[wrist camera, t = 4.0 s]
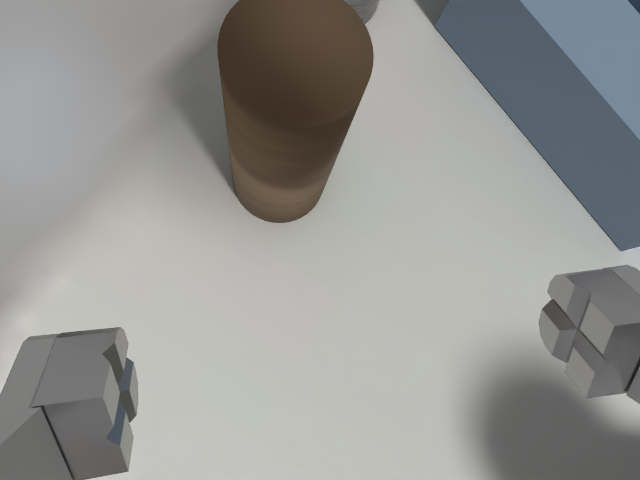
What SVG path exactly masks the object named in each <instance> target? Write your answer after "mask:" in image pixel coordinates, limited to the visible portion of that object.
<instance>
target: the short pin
mask: <svg viewBox="0 0 640 480" xmlns="http://www.w3.org/2000/svg"><path fill="white" fill-rule="evenodd" d="M344 1H345V2H346V3H347V4H349V5H350V6H351V7H352V8H353V9H354V10H355V12H356V13H357V14H358V15H359V17H360V18H361V19H362V21H363V22H364V24H366V23H367V22H368V21H369V20H370V19H371V18H372V16H373V15H374V13H375V11H376V8H377V5H378V3H379V0H344Z"/></svg>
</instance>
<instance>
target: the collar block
mask: <svg viewBox="0 0 640 480" xmlns="http://www.w3.org/2000/svg"><path fill="white" fill-rule="evenodd" d="M435 28H436V29H437V30H438V31H439V32H440V34H441V35H442V36H443V37H444V39H445V40H446V41H447V42H448V43H449V45H450V46H451V47H452V48H453V49H454V51H455V52H456V53H457V54H458V55H459V57H460V58H461V59H462V60H463V61H464V63H465V64H466V65H467V66H468V67H469V69H470V70H471V71H472V72H473V73H474V75H475V76H476V77H477V78H478V79H479V81H480V82H481V83H482V84H483V85H484V87H485V88H486V89H487V90H488V91H489V93H490V94H491V95H492V96H493V98H494V99H495V100H496V101H497V102H498V104H499V105H500V106H501V107H502V108H503V110H504V111H505V112H506V113H507V114H508V116H509V117H510V118H511V119H512V120H513V122H514V123H515V124H516V125H517V126H518V128H519V129H520V130H521V131H522V132H523V134H524V135H525V136H526V137H527V138H528V140H529V141H530V142H531V143H532V144H533V146H534V147H535V148H536V149H537V150H538V152H539V153H540V154H541V155H542V157H543V158H544V159H545V160H546V161H547V163H548V164H549V165H550V166H551V167H552V169H553V170H554V171H555V172H556V173H557V175H558V176H559V177H560V178H561V179H562V181H563V182H564V183H565V184H566V185H567V187H568V188H569V189H570V190H571V191H572V193H573V194H574V195H575V196H576V197H577V199H578V200H579V201H580V202H581V203H582V205H583V206H584V207H585V208H586V209H587V211H588V212H589V213H590V214H591V215H592V217H593V218H594V219H595V220H596V222H597V223H598V224H599V225H600V226H601V228H602V229H603V230H604V231H605V232H606V234H607V235H608V236H609V237H610V238H611V240H612V241H613V242H614V243H615V244H616V246H617V247H618V248H619V249H620V250H621V251H624V250H628V249H631V248H635V247H639V246H640V0H449V1H448V3H447V4H446V6H445V8H444V10H443V12H442V14H441V15H440V17H439V19H438V21H437V23H436V24H435Z"/></svg>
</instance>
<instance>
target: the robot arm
mask: <svg viewBox="0 0 640 480" xmlns="http://www.w3.org/2000/svg"><path fill="white" fill-rule="evenodd" d="M547 292H548V294H549V296H550V297H551V299H552V300H551V301H550V302H549V303H548V304H547V305H546V306H545V307H544V308H543V309H542V311H541V315H540V319H539V328H540V335H541V338H542V340H543V342H544V345H545V346H546V348H547V349H548V350H549V352H550V353H551V355H553V356H555V357H556V358H558V359H560V360H562V361H564V362H566V363H565V373H566V374H567V375H568V377H569V378H570V379H571V381H572V382H573V383H574V384H575V386H576V387H577V388H578V390H579V391H580V392H581V393H582V395H583V396H584V397H585V398H592V397H599V396H607V395H615V394H622V393H627V396H628V397H630V398H632V399H633V400H635V401H636V402H638V403H639V404H640V271H639V270H637V269H636V268H634V267H631V266H628V265H624V266H617V267H610V268H603V269H599V270H591V271H583V272H575V273H567V274H559V275H555V277H554V278H553V279H552V280H551V281H550V284H549V287H548V290H547ZM127 350H128V341H127V338H126V335H125V331H124V330H123V329H122V328H121V327H117V328H107V329H97V330H87V331H77V332H66V333H61V334H51V335H41V336H31V337H29V338H27V339H26V340H25V341H24V342H23V343H22V346H21V348H20V350H19V353H18V355H17V357H16V360H15V362H14V364H13V366H12V369H11V371H10V373H9V376H8V378H7V380H6V383H5V385H4V387H3V390H2V392H1V394H0V480H85V479H91V478H96V477H101V476H107V475H112V474H117V473H123V472H128V471H129V464H130V457H131V450H132V444H133V434H132V430H131V427H130V424H129V423H130V422H131V421H132V420H133V419H134V417H135V416H136V415H137V407H138V381H137V374H136V370H135V366H134V362H132V361H131V360H129V359H128V358H127V357H126V356H127Z"/></svg>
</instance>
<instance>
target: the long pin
mask: <svg viewBox="0 0 640 480" xmlns="http://www.w3.org/2000/svg"><path fill="white" fill-rule="evenodd" d="M218 59H219V67H220V76H221V84H222V93H223V101H224V109H225V118H226V126H227V134H228V143H229V151H230V160H231V168H232V176H233V184H234V189H235V192H236V195H237V197H238V199H239V201H240V202H241V204H242V205H243V206H244V207H245V209H246V210H248V211H249V212H250V213H251V214H253V215H254V216H256V217H258V218H260V219H262V220H265V221H269V222H275V223H285V222H290V221H294V220H297V219H299V218H301V217H303V216H304V215H306V214H307V213H308V212H310V211H311V210H312V209H313V208H314V207H315V205H316V204H317V202H318V200H319V199H320V197H321V194H322V192H323V189H324V187H325V185H326V182H327V180H328V177H329V175H330V173H331V170H332V168H333V165H334V163H335V161H336V158H337V156H338V153H339V151H340V149H341V146H342V144H343V141H344V139H345V137H346V134H347V132H348V129H349V127H350V125H351V122H352V120H353V117H354V115H355V113H356V110H357V108H358V105H359V103H360V101H361V98H362V96H363V94H364V91H365V89H366V86H367V84H368V81H369V79H370V76H371V72H372V67H373V46H372V42H371V38H370V35H369V33H368V30H367V28H366V26H365V24H364V22H363V21H362V19H361V18H360V17H359V15H358V14H357V13H356V12H355V10H354V9H353V8H352V7H351V6H350V5H349V4H347V3H346V2H345V1H344V0H239V1H238V2H237V3H236V4H235V5H234V6H233V8H232V9H231V10H230V11H229V13H228V14H227V16H226V17H225V19H224V22H223V24H222V26H221V29H220V33H219V38H218Z"/></svg>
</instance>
